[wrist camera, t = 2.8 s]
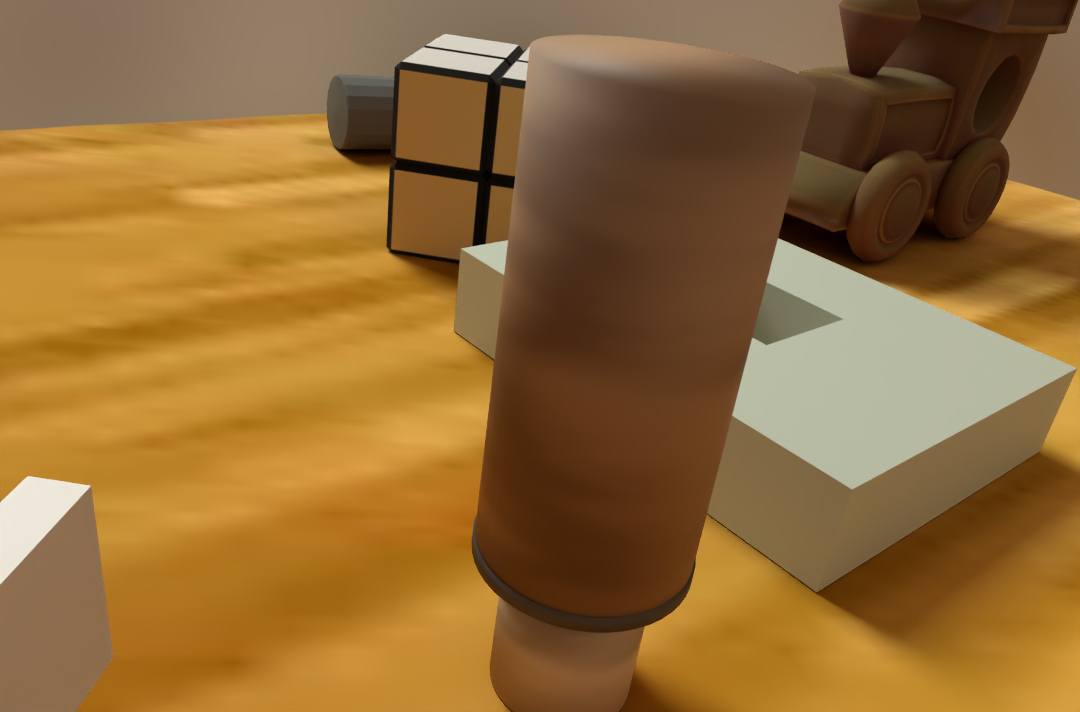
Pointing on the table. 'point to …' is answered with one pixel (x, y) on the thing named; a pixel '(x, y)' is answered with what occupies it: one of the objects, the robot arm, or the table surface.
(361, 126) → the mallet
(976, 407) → the seat board
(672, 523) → the peg
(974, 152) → the wooden toy train
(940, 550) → the table surface
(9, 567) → the robot arm
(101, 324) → the table surface
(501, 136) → the puzzle cube
